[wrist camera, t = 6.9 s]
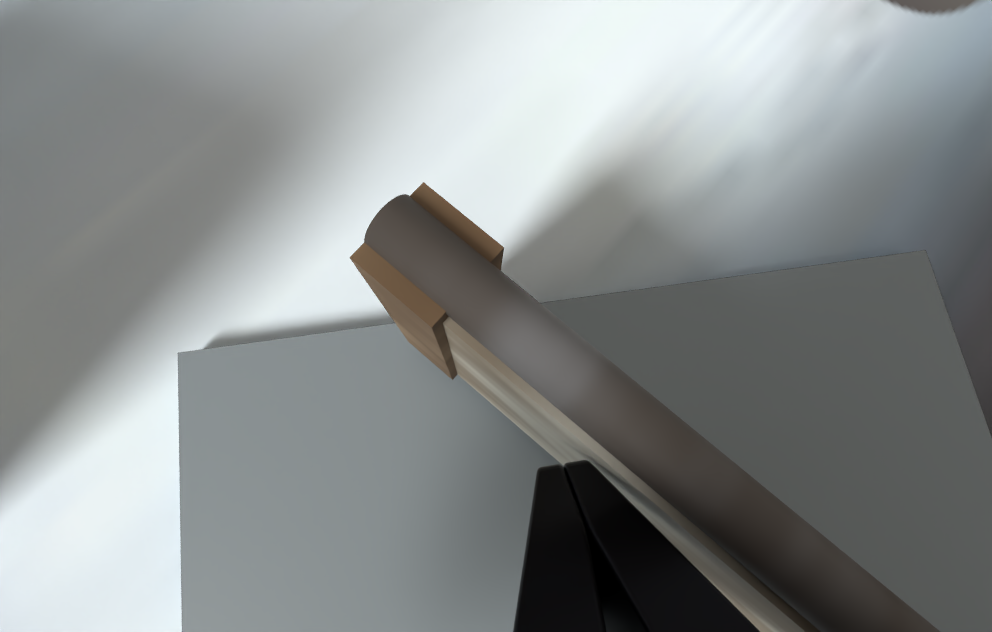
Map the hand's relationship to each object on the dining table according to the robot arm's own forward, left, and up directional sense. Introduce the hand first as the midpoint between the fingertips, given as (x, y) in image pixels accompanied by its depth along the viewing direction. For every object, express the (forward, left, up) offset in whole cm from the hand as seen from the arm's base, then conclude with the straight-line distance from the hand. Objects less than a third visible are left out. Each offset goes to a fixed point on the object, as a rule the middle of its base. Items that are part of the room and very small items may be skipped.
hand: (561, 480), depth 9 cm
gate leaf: (-4, -1, -5) cm, 7 cm away
